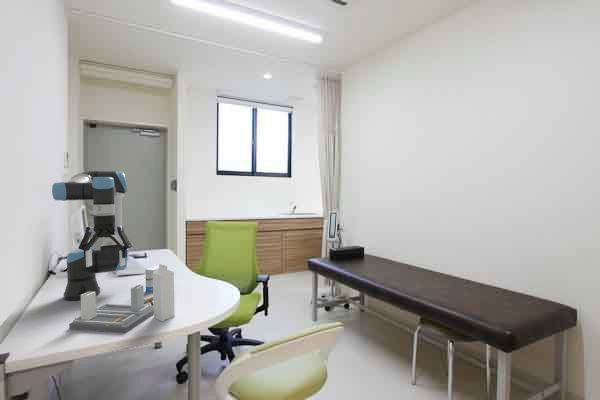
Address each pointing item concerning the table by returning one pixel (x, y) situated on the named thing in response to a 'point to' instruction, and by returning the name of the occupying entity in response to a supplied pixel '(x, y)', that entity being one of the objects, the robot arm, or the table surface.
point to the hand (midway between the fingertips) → (105, 266)
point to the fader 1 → (88, 305)
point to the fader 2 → (137, 298)
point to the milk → (163, 293)
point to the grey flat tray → (113, 318)
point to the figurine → (148, 300)
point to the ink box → (150, 278)
